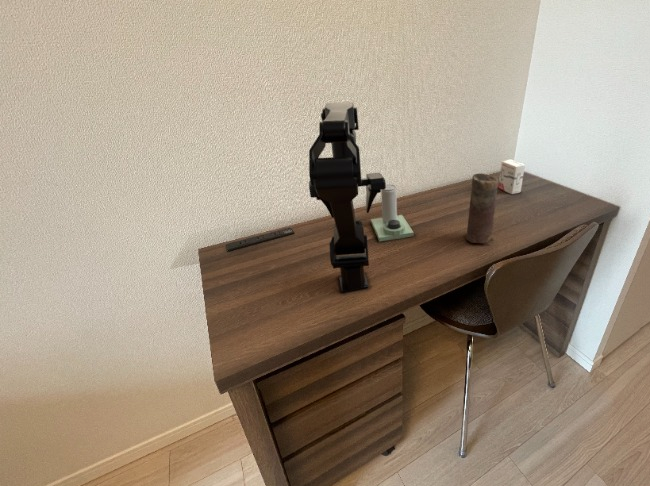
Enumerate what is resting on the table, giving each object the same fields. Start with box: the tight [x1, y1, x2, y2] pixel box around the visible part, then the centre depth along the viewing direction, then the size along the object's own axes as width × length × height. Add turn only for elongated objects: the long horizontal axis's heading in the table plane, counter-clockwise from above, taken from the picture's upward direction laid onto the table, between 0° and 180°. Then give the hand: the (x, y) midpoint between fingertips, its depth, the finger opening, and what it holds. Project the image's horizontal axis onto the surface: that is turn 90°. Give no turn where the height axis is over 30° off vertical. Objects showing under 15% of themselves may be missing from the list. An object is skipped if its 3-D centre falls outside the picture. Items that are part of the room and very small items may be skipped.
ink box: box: [497, 159, 526, 195], centre depth 130 cm, size 9×5×12 cm, turn 25°
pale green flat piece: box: [370, 214, 415, 242], centre depth 103 cm, size 13×11×3 cm
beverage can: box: [380, 184, 398, 223], centre depth 104 cm, size 5×5×12 cm
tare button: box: [388, 220, 400, 229], centre depth 100 cm, size 4×4×2 cm
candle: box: [466, 173, 499, 244], centre depth 93 cm, size 8×7×20 cm
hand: (350, 214), depth 85 cm, fingers open, 9 cm apart
